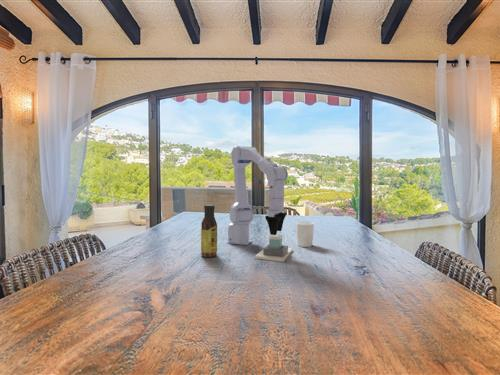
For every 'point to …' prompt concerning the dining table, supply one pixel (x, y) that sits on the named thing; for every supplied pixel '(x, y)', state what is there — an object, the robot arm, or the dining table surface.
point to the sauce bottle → (209, 233)
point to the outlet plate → (274, 253)
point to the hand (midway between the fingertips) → (276, 232)
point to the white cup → (304, 233)
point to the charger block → (275, 242)
